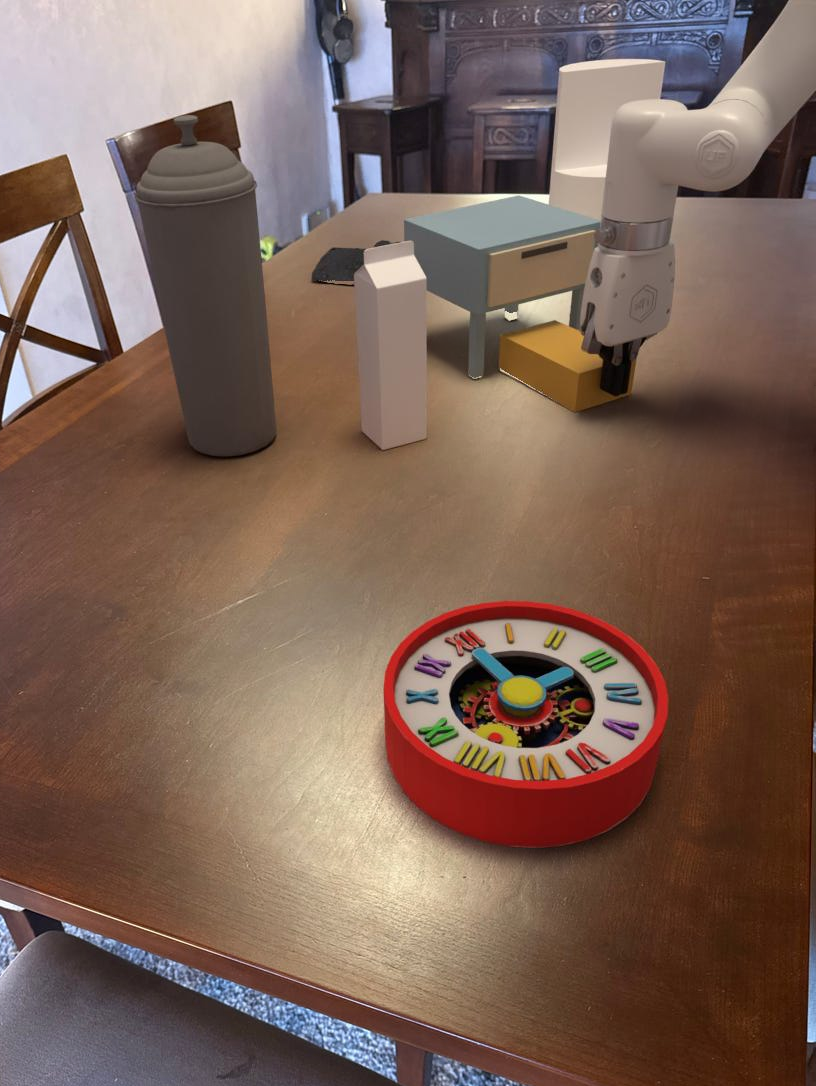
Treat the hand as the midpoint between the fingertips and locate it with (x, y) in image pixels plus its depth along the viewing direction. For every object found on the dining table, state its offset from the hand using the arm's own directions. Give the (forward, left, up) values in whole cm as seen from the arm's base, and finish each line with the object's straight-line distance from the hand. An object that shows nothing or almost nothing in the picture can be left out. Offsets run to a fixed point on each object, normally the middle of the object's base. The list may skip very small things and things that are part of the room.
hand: (613, 391), depth 109 cm
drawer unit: (+24, -8, -2) cm, 25 cm away
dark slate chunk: (+61, -23, -2) cm, 65 cm away
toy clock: (-26, +54, -2) cm, 60 cm away
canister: (+31, +35, -2) cm, 47 cm away
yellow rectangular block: (+9, -3, -2) cm, 10 cm away
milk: (+16, +22, -2) cm, 27 cm away
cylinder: (+37, -54, -2) cm, 66 cm away
